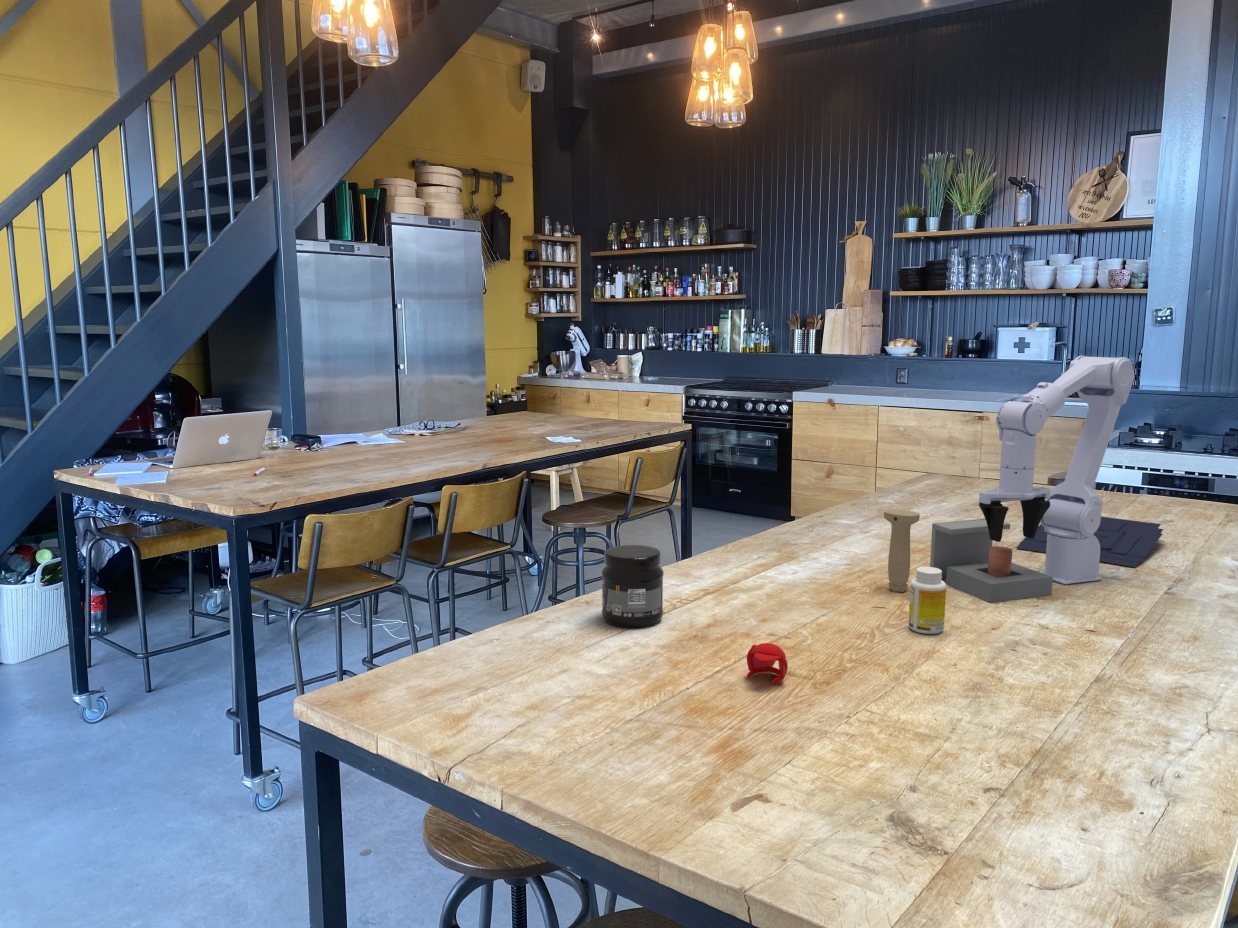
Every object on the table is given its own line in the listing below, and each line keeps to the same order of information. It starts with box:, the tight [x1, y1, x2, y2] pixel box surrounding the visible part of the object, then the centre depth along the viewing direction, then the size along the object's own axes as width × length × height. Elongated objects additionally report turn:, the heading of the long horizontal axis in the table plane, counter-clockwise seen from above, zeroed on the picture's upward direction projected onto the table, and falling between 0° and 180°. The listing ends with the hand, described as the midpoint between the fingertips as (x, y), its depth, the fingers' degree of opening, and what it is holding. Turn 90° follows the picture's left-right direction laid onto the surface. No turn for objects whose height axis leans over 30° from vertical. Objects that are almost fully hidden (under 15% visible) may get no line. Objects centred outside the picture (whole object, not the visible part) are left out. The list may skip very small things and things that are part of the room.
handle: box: [883, 508, 921, 593], centre depth 171 cm, size 5×6×15 cm
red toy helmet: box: [746, 642, 789, 685], centre depth 130 cm, size 7×6×6 cm
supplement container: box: [600, 544, 665, 629], centre depth 155 cm, size 10×10×12 cm
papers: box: [1015, 516, 1165, 568], centre depth 205 cm, size 24×30×4 cm
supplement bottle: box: [908, 566, 947, 635], centre depth 150 cm, size 6×6×10 cm
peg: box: [988, 545, 1013, 578], centre depth 172 cm, size 4×4×8 cm
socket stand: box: [929, 518, 1053, 604], centre depth 174 cm, size 14×17×11 cm
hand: (1012, 538), depth 170 cm, fingers open, 7 cm apart
